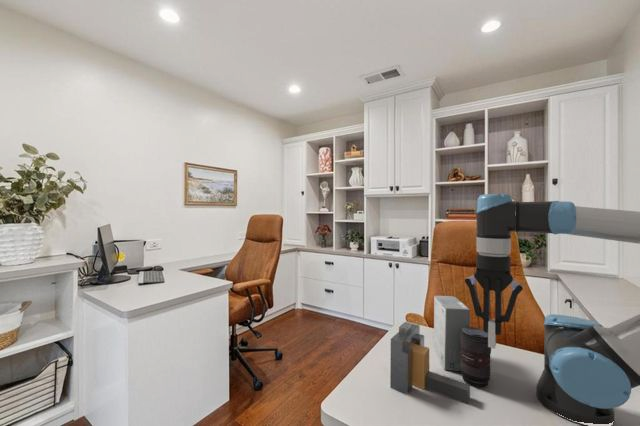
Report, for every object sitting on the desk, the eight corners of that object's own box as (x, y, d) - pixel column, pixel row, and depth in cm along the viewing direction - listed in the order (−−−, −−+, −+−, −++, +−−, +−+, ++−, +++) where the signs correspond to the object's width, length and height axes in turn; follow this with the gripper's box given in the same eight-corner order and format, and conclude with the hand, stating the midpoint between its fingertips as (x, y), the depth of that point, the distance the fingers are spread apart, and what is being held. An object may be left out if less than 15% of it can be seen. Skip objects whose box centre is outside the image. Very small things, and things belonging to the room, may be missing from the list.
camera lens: (495, 391, 79) (496, 338, 79) (464, 387, 81) (465, 335, 81) (485, 375, 87) (485, 327, 87) (457, 372, 89) (457, 324, 89)
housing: (424, 370, 90) (424, 320, 90) (407, 394, 78) (407, 336, 78) (408, 365, 93) (408, 316, 93) (390, 387, 81) (390, 332, 81)
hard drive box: (470, 373, 89) (470, 309, 89) (444, 370, 90) (445, 308, 90) (454, 349, 104) (455, 295, 104) (432, 347, 105) (433, 294, 105)
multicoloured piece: (470, 395, 77) (470, 359, 77) (467, 405, 73) (467, 367, 73) (412, 375, 87) (412, 343, 87) (406, 383, 83) (407, 349, 83)
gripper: (524, 255, 71) (523, 347, 71) (467, 250, 79) (466, 334, 79) (524, 258, 65) (522, 360, 65) (462, 253, 73) (461, 343, 73)
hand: (492, 345), depth 72 cm, fingers closed
